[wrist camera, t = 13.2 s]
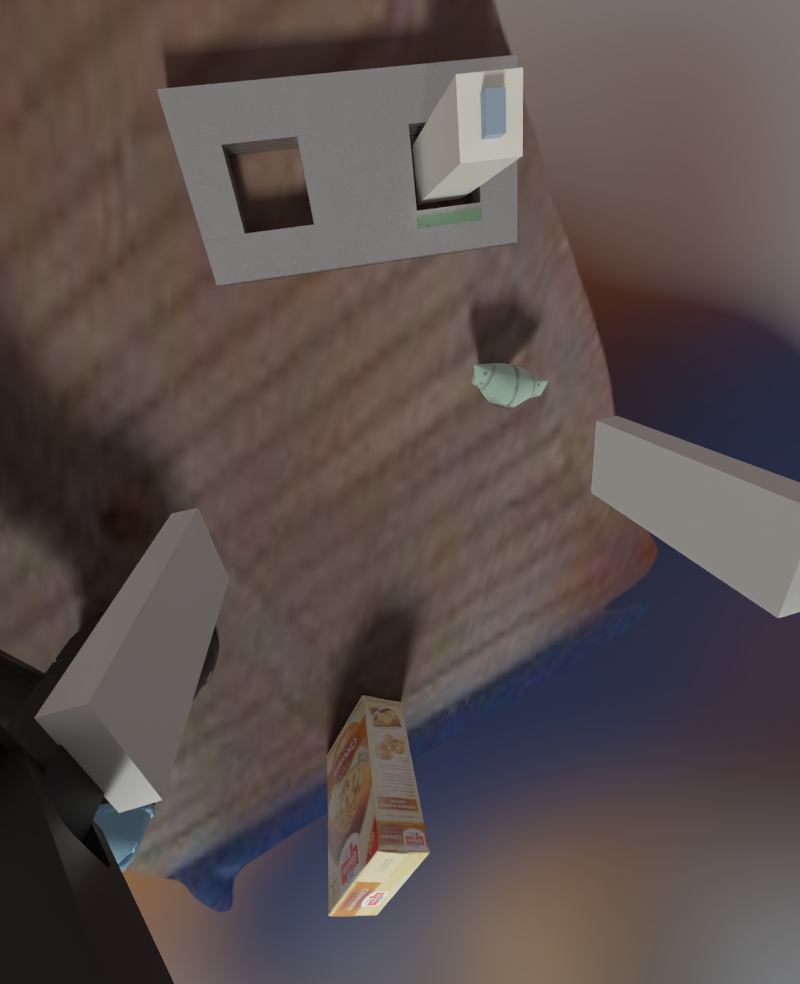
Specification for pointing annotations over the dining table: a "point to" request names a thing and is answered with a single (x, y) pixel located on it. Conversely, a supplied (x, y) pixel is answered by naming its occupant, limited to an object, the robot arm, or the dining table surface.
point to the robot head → (506, 384)
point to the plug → (470, 135)
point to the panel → (331, 169)
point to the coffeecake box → (372, 810)
